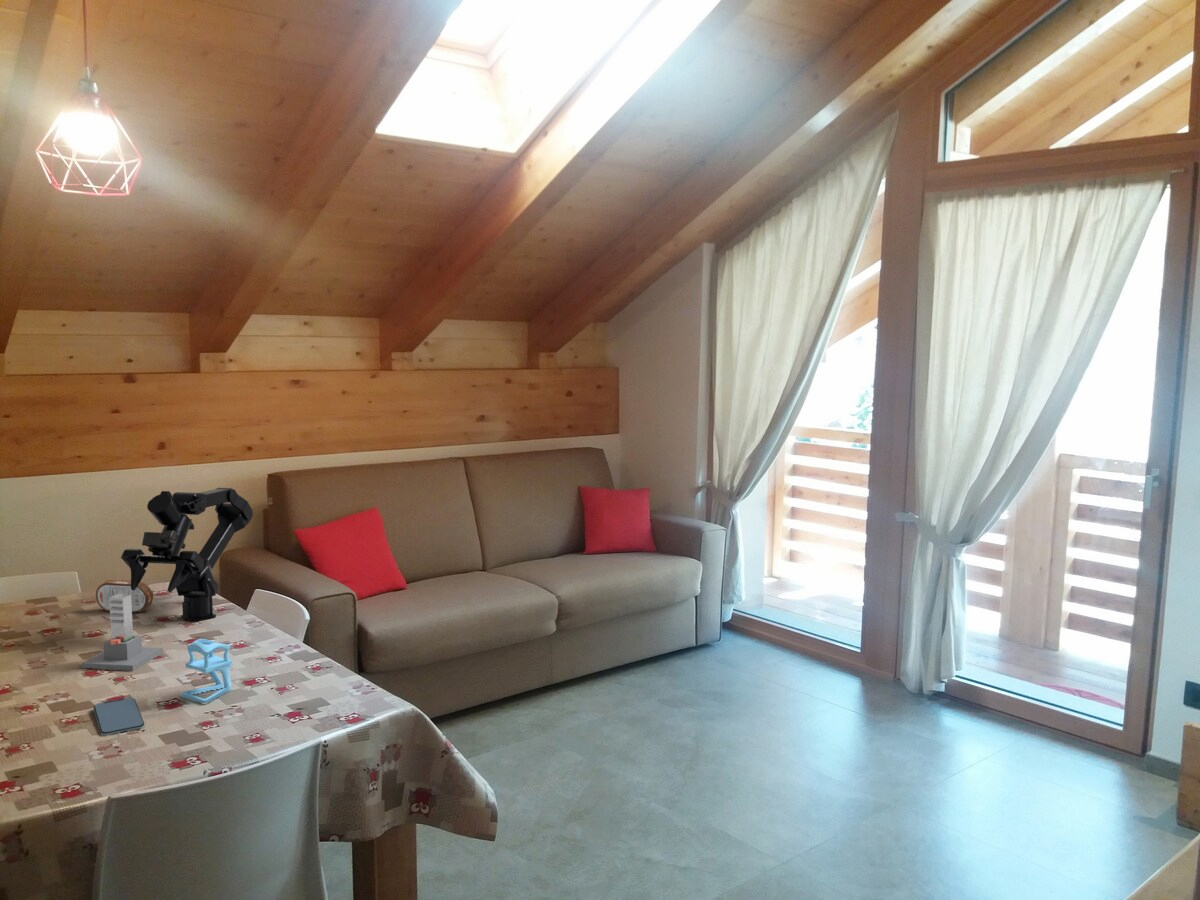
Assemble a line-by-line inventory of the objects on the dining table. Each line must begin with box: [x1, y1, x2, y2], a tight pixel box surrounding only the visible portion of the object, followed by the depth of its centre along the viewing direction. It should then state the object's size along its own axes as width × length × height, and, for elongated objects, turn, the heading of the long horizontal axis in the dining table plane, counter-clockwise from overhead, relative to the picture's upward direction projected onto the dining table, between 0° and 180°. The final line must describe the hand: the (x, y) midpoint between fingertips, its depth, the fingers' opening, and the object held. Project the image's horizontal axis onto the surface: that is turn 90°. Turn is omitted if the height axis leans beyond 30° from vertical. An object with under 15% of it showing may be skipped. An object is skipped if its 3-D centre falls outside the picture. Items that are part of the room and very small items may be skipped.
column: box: [109, 594, 135, 642], centre depth 213 cm, size 4×3×10 cm
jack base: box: [81, 635, 164, 672], centre depth 214 cm, size 12×12×6 cm
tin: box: [95, 579, 154, 613], centre depth 251 cm, size 15×3×8 cm, turn 84°
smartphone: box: [93, 697, 146, 737], centre depth 182 cm, size 8×2×15 cm
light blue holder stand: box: [181, 638, 233, 704], centre depth 194 cm, size 8×8×12 cm
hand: (150, 590), depth 225 cm, fingers open, 9 cm apart
